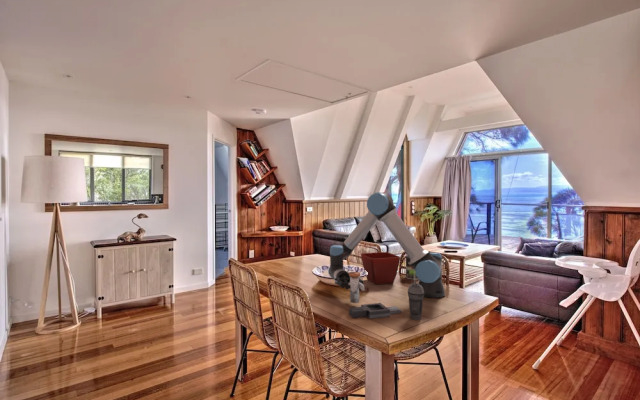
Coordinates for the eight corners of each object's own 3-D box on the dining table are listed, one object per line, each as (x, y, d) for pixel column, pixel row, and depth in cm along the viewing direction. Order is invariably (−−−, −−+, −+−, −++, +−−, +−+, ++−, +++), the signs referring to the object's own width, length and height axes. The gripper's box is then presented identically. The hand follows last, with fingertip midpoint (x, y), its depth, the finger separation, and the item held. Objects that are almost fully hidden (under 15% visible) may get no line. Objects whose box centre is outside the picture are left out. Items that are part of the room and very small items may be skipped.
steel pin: (361, 300, 167) (361, 272, 167) (358, 304, 162) (358, 274, 162) (351, 299, 170) (350, 271, 170) (347, 302, 165) (347, 273, 164)
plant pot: (360, 278, 219) (360, 253, 218) (387, 276, 223) (387, 251, 223) (371, 286, 200) (371, 258, 200) (400, 284, 205) (401, 257, 204)
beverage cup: (414, 322, 145) (414, 276, 145) (403, 316, 152) (404, 272, 152) (427, 319, 148) (428, 274, 148) (416, 314, 155) (417, 271, 154)
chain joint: (393, 307, 164) (393, 301, 164) (403, 314, 154) (403, 308, 154) (347, 312, 157) (347, 306, 157) (355, 320, 148) (355, 313, 148)
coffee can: (421, 280, 214) (421, 258, 214) (404, 279, 218) (404, 257, 217) (422, 276, 224) (422, 255, 223) (406, 275, 227) (406, 254, 227)
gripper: (357, 282, 186) (375, 294, 163) (327, 285, 181) (341, 298, 158) (357, 269, 186) (375, 279, 163) (327, 271, 181) (341, 282, 158)
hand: (358, 288), depth 161 cm, fingers closed on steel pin, 4 cm apart
